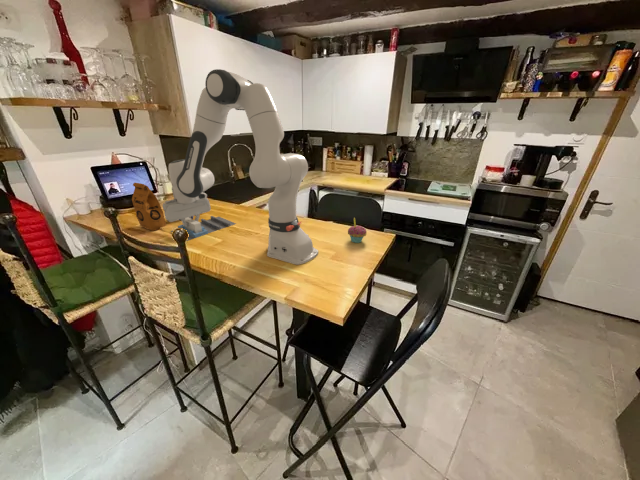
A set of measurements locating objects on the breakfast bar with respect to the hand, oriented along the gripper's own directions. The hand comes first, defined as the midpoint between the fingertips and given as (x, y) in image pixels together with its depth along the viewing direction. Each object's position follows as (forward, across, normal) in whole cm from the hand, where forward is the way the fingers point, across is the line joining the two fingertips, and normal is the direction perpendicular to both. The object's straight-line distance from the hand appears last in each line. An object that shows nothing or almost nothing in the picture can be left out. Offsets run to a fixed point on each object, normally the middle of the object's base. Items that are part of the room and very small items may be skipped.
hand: (191, 224), depth 124 cm
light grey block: (+3, 0, 0) cm, 3 cm away
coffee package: (+4, -9, +22) cm, 24 cm away
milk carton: (+4, +7, +20) cm, 22 cm away
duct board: (+4, +6, 0) cm, 7 cm away
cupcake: (+5, +44, -65) cm, 79 cm away
